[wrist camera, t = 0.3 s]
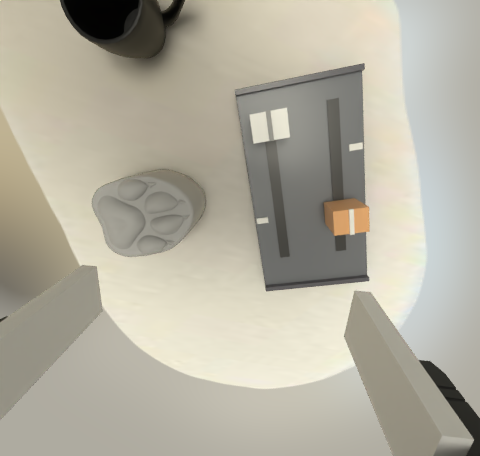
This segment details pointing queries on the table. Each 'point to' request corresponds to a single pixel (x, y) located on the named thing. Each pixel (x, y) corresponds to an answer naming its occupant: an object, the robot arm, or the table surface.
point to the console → (307, 177)
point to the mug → (123, 24)
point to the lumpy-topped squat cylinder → (148, 211)
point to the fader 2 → (346, 216)
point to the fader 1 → (270, 125)
